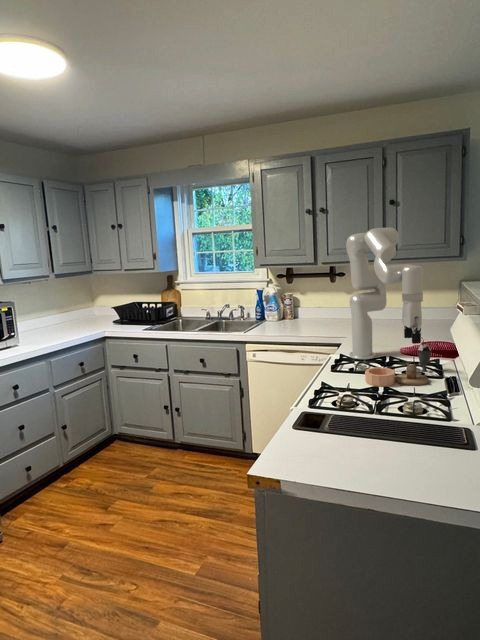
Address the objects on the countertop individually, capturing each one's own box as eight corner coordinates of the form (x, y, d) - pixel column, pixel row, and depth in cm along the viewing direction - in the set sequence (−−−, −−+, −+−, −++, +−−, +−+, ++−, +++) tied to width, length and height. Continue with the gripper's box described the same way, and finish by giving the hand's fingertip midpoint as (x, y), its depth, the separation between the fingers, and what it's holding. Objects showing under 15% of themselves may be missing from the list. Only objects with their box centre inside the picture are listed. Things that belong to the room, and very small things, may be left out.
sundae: (419, 369, 195) (420, 335, 192) (435, 371, 190) (435, 337, 187) (413, 372, 190) (413, 338, 188) (428, 375, 186) (429, 340, 183)
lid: (391, 376, 186) (391, 362, 184) (422, 375, 185) (422, 361, 184) (400, 386, 173) (400, 371, 172) (432, 385, 173) (433, 369, 171)
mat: (392, 378, 185) (392, 376, 185) (421, 376, 185) (421, 375, 184) (400, 387, 174) (400, 386, 174) (432, 386, 173) (432, 385, 173)
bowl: (363, 379, 186) (362, 368, 185) (390, 378, 185) (390, 366, 184) (369, 388, 175) (368, 376, 174) (398, 387, 174) (398, 375, 173)
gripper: (396, 295, 182) (396, 336, 184) (409, 301, 165) (409, 346, 167) (415, 294, 181) (414, 335, 184) (430, 300, 164) (429, 345, 167)
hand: (412, 340), depth 176 cm, fingers open, 9 cm apart
